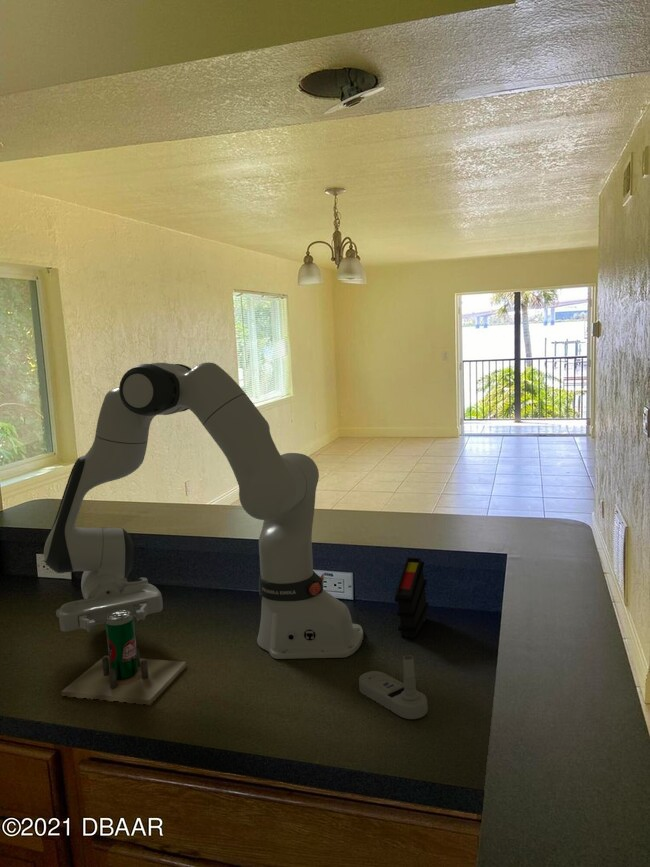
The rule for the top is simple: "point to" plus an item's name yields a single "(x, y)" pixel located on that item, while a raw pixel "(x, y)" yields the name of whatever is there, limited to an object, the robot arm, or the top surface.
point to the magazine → (411, 597)
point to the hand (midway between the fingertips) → (116, 622)
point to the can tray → (125, 681)
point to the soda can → (122, 644)
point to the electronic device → (395, 691)
